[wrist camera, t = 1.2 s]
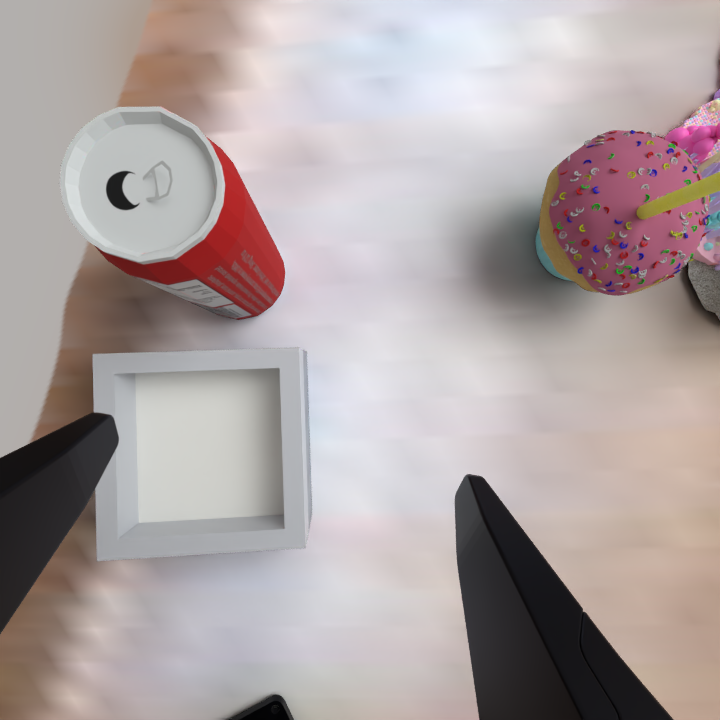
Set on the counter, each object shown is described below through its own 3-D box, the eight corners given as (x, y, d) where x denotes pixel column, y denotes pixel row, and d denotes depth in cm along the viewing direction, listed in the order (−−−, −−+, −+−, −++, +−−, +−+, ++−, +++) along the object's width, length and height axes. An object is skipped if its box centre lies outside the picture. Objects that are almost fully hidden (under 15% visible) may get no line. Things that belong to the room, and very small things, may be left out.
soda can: (278, 226, 23) (214, 77, 12) (293, 312, 23) (244, 252, 11) (188, 239, 23) (27, 101, 11) (203, 327, 23) (57, 282, 11)
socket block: (312, 513, 23) (305, 548, 19) (145, 523, 23) (96, 561, 18) (306, 351, 23) (299, 347, 19) (141, 356, 23) (92, 354, 18)
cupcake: (582, 334, 24) (816, 300, 12) (479, 254, 24) (616, 142, 12) (656, 231, 25) (950, 102, 13) (555, 151, 25) (760, -54, 13)
